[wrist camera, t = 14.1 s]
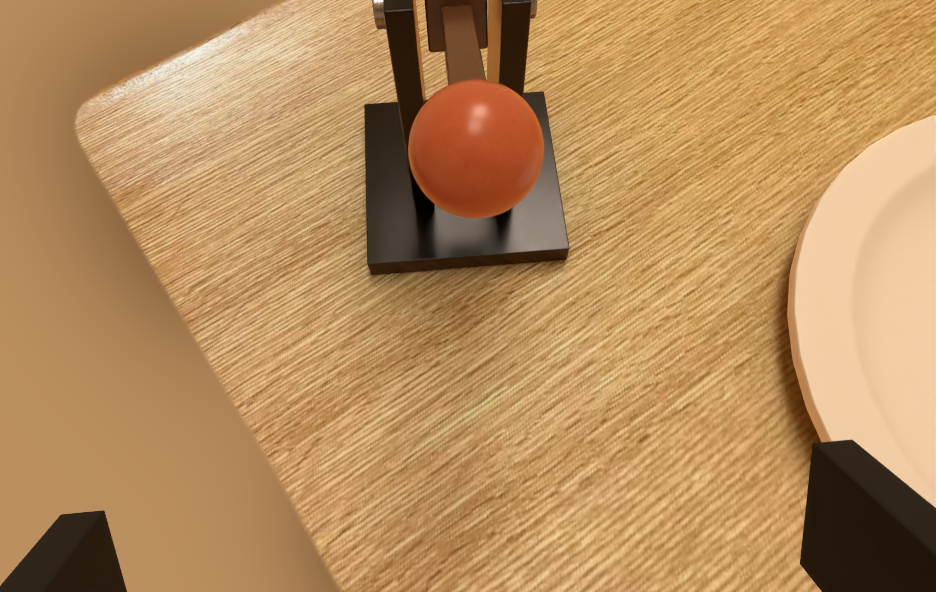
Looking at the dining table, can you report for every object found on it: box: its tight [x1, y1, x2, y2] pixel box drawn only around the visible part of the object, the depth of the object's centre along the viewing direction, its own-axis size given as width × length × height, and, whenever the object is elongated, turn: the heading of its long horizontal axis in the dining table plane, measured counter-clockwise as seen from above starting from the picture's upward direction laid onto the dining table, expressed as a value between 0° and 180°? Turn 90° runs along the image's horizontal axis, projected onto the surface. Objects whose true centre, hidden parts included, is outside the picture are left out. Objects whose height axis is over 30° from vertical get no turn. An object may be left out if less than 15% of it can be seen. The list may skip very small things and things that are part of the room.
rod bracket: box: [364, 0, 569, 275], centre depth 29 cm, size 10×10×14 cm
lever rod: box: [408, 0, 544, 219], centre depth 21 cm, size 13×4×4 cm, turn 5°
